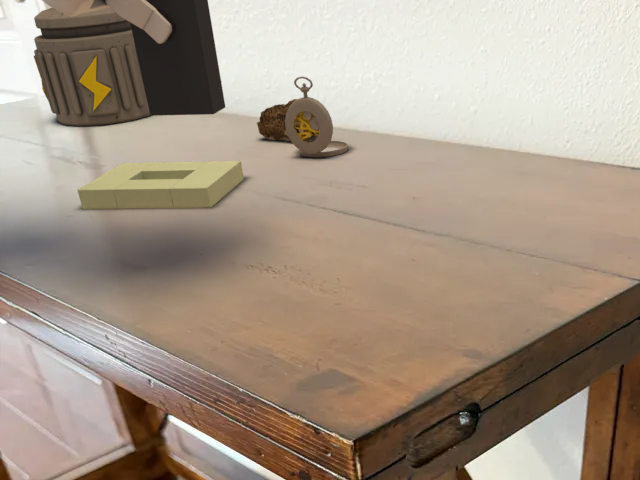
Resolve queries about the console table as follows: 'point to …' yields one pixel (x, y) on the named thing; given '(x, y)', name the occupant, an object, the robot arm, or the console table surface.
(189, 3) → the back pad
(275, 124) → the rock sample
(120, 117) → the grey power cell canister
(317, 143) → the pocket watch
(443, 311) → the console table surface
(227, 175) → the seat pad
